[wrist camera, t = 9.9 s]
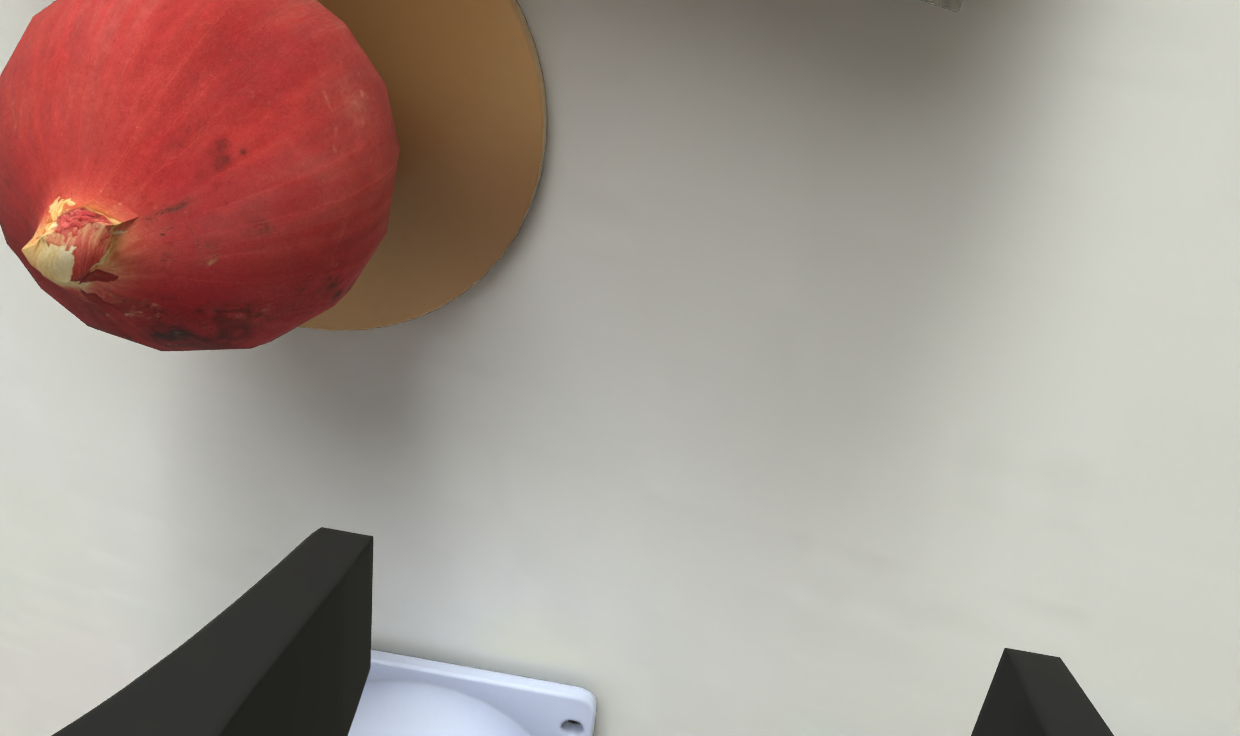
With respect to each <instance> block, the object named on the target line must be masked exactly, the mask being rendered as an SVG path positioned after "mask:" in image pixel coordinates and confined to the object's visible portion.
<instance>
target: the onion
mask: <svg viewBox="0 0 1240 736" xmlns="http://www.w3.org/2000/svg"><path fill="white" fill-rule="evenodd" d="M399 152H400V146H399V141H398V137H397V133H396V128H395V124H394V119H393V115H392V110H391V106H390V102H389V97H388V93H387V88H386V84H385V83H384V81H383V80H382V78H381V76H380V75H379V73H378V72H377V70H376V69H375V67H374V66H373V64H372V63H371V61H370V60H369V58H368V57H367V55H366V54H365V52H364V51H363V49H362V48H361V46H360V45H359V43H358V42H357V40H356V39H355V37H354V36H353V34H352V33H351V31H350V30H349V28H348V27H347V25H346V24H345V23H344V22H343V21H342V20H341V19H339V18H338V17H337V16H336V15H334V14H333V13H332V12H331V11H329V10H328V9H327V8H325V7H324V6H323V5H322V4H320V3H319V2H318V1H317V0H56V1H55V2H53V3H52V4H51V5H49V6H48V7H46V8H45V9H43V10H42V11H41V12H39V13H38V14H36V15H35V16H34V17H33V18H32V20H31V22H30V23H29V25H28V27H27V29H26V31H25V32H24V34H23V36H22V38H21V40H20V41H19V43H18V45H17V47H16V48H15V50H14V52H13V54H12V56H11V57H10V59H9V61H8V63H7V65H6V66H5V68H4V70H3V72H2V74H1V75H0V225H1V228H2V231H3V234H4V237H5V240H6V242H7V244H8V245H9V247H10V248H11V249H12V250H13V251H14V253H15V254H16V255H17V256H18V257H19V259H20V260H21V262H22V263H23V264H24V266H25V267H26V268H27V270H28V271H29V273H30V274H31V275H32V277H33V278H34V279H35V281H36V282H37V284H38V285H39V286H40V288H41V289H43V290H44V291H45V292H46V293H48V294H49V295H50V296H51V297H53V298H54V299H55V300H56V301H58V302H59V303H60V304H61V305H62V306H64V307H65V308H66V309H67V310H69V311H70V312H71V313H72V314H74V315H75V316H76V317H77V318H79V319H80V320H81V321H82V322H84V323H85V324H86V325H87V326H89V327H92V328H94V329H97V330H100V331H103V332H106V333H109V334H112V335H115V336H118V337H121V338H124V339H127V340H130V341H133V342H136V343H139V344H142V345H145V346H148V347H151V348H154V349H157V350H160V351H191V350H220V349H250V348H254V347H256V346H259V345H262V344H265V343H268V342H271V341H273V340H275V339H276V338H278V337H280V336H282V335H283V334H285V333H287V332H289V331H291V330H292V329H294V328H296V327H298V326H300V325H301V324H303V323H305V322H307V321H308V320H310V319H312V318H314V317H316V316H317V315H319V314H321V313H323V312H325V311H326V310H328V309H330V308H332V307H333V306H335V305H336V304H337V303H338V302H339V301H340V300H341V299H342V298H343V297H344V296H345V295H346V294H347V293H348V292H349V291H350V290H351V288H352V287H353V285H354V284H355V282H356V280H357V279H358V277H359V276H360V274H361V273H362V271H363V269H364V268H365V266H366V265H367V263H368V262H369V260H370V258H371V257H372V255H373V254H374V252H375V251H376V249H377V247H378V246H379V244H380V243H381V241H382V240H383V238H384V236H385V235H386V233H387V228H388V221H389V214H390V207H391V200H392V194H393V188H394V182H395V176H396V170H397V164H398V158H399Z"/></svg>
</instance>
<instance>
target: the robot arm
mask: <svg viewBox="0 0 1240 736" xmlns="http://www.w3.org/2000/svg"><path fill="white" fill-rule="evenodd" d="M372 576H373V536H368V535H363V534H357V533H351V532H346V531H340V530H334V529H329V528H323V527H321V528H320V529H318V530H317V531H315V532H314V533H312V534H311V535H310V536H309V537H308V538H306V539H305V540H304V541H303V542H302V543H301V544H300V545H299V546H298V547H296V548H295V549H294V550H293V551H292V552H291V553H290V554H289V555H288V556H287V557H285V558H284V559H283V560H282V561H281V562H280V563H279V564H278V565H277V566H275V567H274V568H273V569H272V570H271V571H270V572H269V573H268V574H266V575H265V576H264V577H263V578H262V579H261V580H260V581H258V582H257V583H256V584H255V585H254V586H253V587H252V588H250V589H249V590H248V591H247V592H246V593H245V594H243V595H242V596H241V597H240V598H239V599H238V600H236V601H235V602H234V603H233V604H232V605H230V606H229V607H228V608H227V609H226V610H224V611H223V612H222V613H221V614H219V615H218V616H217V617H216V618H215V619H213V620H212V621H211V622H210V623H208V624H207V625H206V626H205V627H204V628H202V629H201V630H200V631H199V632H198V633H196V634H195V635H194V636H193V637H191V638H190V639H189V640H188V641H186V642H185V643H184V644H183V645H181V646H180V647H179V648H177V649H176V650H175V651H173V652H172V653H171V654H169V655H168V656H167V657H165V658H164V659H163V660H161V661H160V662H158V663H157V664H156V665H154V666H153V667H152V668H150V669H149V670H148V671H146V672H145V673H144V674H142V675H141V676H140V677H138V678H137V679H135V680H134V681H133V682H131V683H130V684H129V685H127V686H126V687H125V688H123V689H122V690H120V691H119V692H118V693H116V694H115V695H113V696H112V697H110V698H109V699H107V700H106V701H104V702H103V703H101V704H100V705H99V706H97V707H96V708H94V709H93V710H91V711H90V712H88V713H86V714H85V715H83V716H82V717H80V718H79V719H77V720H76V721H74V722H73V723H71V724H69V725H68V726H66V727H65V728H63V729H61V730H60V731H58V732H57V733H55V734H53V735H52V736H593V730H594V724H595V717H596V711H597V700H596V698H595V697H594V695H593V694H592V693H591V692H589V691H588V690H586V689H583V688H580V687H576V686H571V685H565V684H559V683H554V682H548V681H543V680H537V679H532V678H526V677H521V676H515V675H510V674H504V673H499V672H493V671H488V670H482V669H477V668H471V667H465V666H460V665H454V664H449V663H443V662H438V661H432V660H427V659H421V658H416V657H410V656H405V655H399V654H394V653H388V652H383V651H377V650H371V624H372ZM567 720H574V721H577V722H579V724H573V723H571V722H568V721H567ZM971 736H1114V735H1113V733H1112V732H1111V731H1110V729H1109V728H1108V726H1107V725H1106V723H1105V722H1104V720H1103V719H1102V718H1101V716H1100V715H1099V713H1098V712H1097V710H1096V709H1095V707H1094V706H1093V704H1092V703H1091V702H1090V700H1089V699H1088V697H1087V696H1086V694H1085V693H1084V691H1083V690H1082V688H1081V687H1080V686H1079V684H1078V683H1077V681H1076V680H1075V678H1074V677H1073V675H1072V674H1071V673H1070V671H1069V670H1068V668H1067V667H1066V665H1065V664H1064V663H1063V661H1062V660H1061V658H1060V657H1054V656H1048V655H1043V654H1037V653H1031V652H1026V651H1020V650H1014V649H1009V648H1005V649H1004V651H1003V654H1002V657H1001V659H1000V662H999V664H998V667H997V670H996V672H995V675H994V677H993V680H992V683H991V685H990V688H989V690H988V693H987V696H986V698H985V701H984V703H983V706H982V709H981V711H980V714H979V716H978V719H977V722H976V724H975V727H974V729H973V732H972V735H971Z"/></svg>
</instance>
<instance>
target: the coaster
mask: <svg viewBox="0 0 1240 736" xmlns="http://www.w3.org/2000/svg"><path fill="white" fill-rule="evenodd" d="M317 1H318V2H319V3H320V4H322V5H323V6H324V7H325V8H327V9H328V10H329V11H331V12H332V13H333V14H334V15H336V16H337V17H338V18H339V19H341V20H342V21H343V22H344V23H345V24H346V25H347V27H348V28H349V30H350V31H351V33H352V34H353V36H354V37H355V39H356V40H357V42H358V43H359V45H360V46H361V48H362V49H363V51H364V52H365V54H366V55H367V57H368V58H369V60H370V61H371V63H372V64H373V66H374V67H375V69H376V70H377V72H378V73H379V75H380V76H381V78H382V80H383V81H384V83H385V84H386V88H387V93H388V97H389V102H390V106H391V110H392V115H393V119H394V124H395V128H396V133H397V137H398V141H399V146H400V152H399V158H398V164H397V170H396V176H395V182H394V188H393V194H392V200H391V207H390V214H389V221H388V228H387V233H386V235H385V236H384V238H383V240H382V241H381V243H380V244H379V246H378V247H377V249H376V251H375V252H374V254H373V255H372V257H371V258H370V260H369V262H368V263H367V265H366V266H365V268H364V269H363V271H362V273H361V274H360V276H359V277H358V279H357V280H356V282H355V284H354V285H353V287H352V288H351V290H350V291H349V292H348V293H347V294H346V295H345V296H344V297H343V298H342V299H341V300H340V301H339V302H338V303H337V304H336V305H335V306H333V307H332V308H330V309H328V310H326V311H325V312H323V313H321V314H319V315H317V316H316V317H314V318H312V319H310V320H308V321H307V322H305V323H303V324H301V325H300V326H299V327H304V328H313V329H322V330H364V329H371V328H379V327H386V326H390V325H394V324H397V323H401V322H405V321H408V320H412V319H415V318H417V317H420V316H422V315H424V314H427V313H429V312H432V311H434V310H436V309H439V308H440V307H442V306H444V305H445V304H447V303H449V302H450V301H452V300H454V299H455V298H457V297H459V296H460V295H462V294H463V293H464V292H466V291H467V290H468V289H469V288H471V287H472V286H473V285H474V284H475V283H477V282H478V281H479V280H480V279H482V278H483V277H484V276H485V275H486V273H487V272H488V271H489V270H490V269H491V268H492V267H493V266H494V265H495V264H496V263H497V261H498V260H499V259H500V258H501V257H502V256H503V254H504V253H505V251H506V250H507V248H508V247H509V245H510V244H511V242H512V241H513V239H514V238H515V236H516V235H517V233H518V231H519V229H520V227H521V225H522V223H523V221H524V219H525V217H526V214H527V212H528V210H529V208H530V206H531V204H532V202H533V199H534V195H535V192H536V189H537V186H538V183H539V179H540V176H541V172H542V166H543V160H544V154H545V148H546V128H547V109H546V99H545V90H544V80H543V76H542V72H541V68H540V63H539V59H538V55H537V51H536V47H535V44H534V42H533V39H532V36H531V33H530V31H529V28H528V25H527V23H526V20H525V17H524V15H523V13H522V11H521V9H520V7H519V5H518V3H517V1H516V0H317Z"/></svg>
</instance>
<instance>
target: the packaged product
mask: <svg viewBox="0 0 1240 736" xmlns="http://www.w3.org/2000/svg"><path fill="white" fill-rule="evenodd" d="M921 1H924V2H927V3H930V4H933V5H936V6H939V7H942V8H945V9H948V10H951V11H954V12H957V11H959V9H960V6H961V3H962V0H921Z"/></svg>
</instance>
